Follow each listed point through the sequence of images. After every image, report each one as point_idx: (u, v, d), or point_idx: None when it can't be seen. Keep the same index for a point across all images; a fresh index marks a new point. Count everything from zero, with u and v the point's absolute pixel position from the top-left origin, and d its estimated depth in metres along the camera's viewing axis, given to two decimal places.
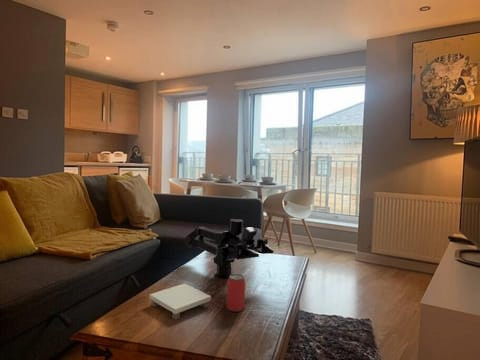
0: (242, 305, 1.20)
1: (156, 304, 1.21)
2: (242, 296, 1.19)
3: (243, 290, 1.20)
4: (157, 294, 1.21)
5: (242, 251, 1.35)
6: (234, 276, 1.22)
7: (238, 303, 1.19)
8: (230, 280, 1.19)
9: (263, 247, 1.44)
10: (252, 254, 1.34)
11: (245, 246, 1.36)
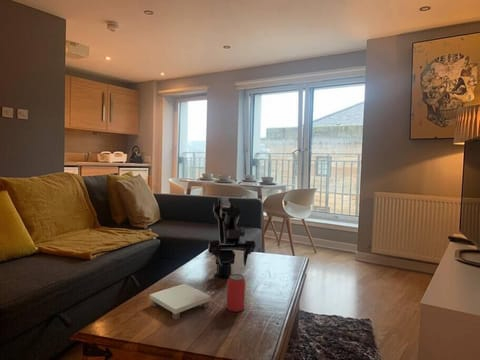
0: (242, 305, 1.20)
1: (156, 304, 1.21)
2: (242, 296, 1.19)
3: (243, 290, 1.20)
4: (157, 294, 1.21)
5: (213, 250, 1.31)
6: (234, 276, 1.22)
7: (238, 303, 1.19)
8: (230, 280, 1.19)
9: (244, 251, 1.34)
10: (219, 260, 1.29)
11: (217, 248, 1.30)
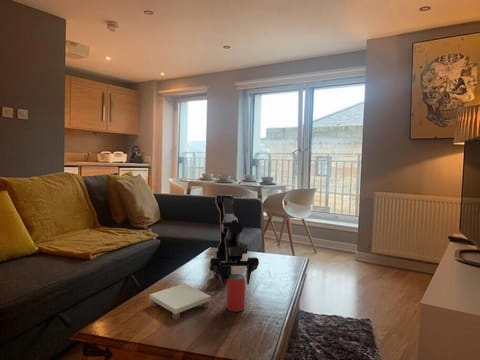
0: (242, 305, 1.20)
1: (156, 304, 1.21)
2: (242, 296, 1.19)
3: (243, 290, 1.20)
4: (157, 294, 1.21)
5: (215, 268, 1.25)
6: (234, 276, 1.22)
7: (238, 303, 1.19)
8: (230, 280, 1.19)
9: (247, 269, 1.27)
10: (220, 278, 1.23)
11: (219, 266, 1.23)
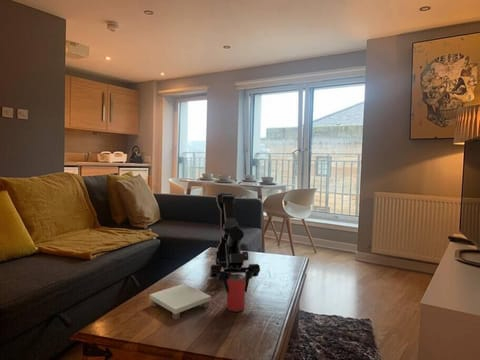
0: (242, 305, 1.20)
1: (156, 304, 1.21)
2: (242, 296, 1.19)
3: (243, 290, 1.20)
4: (157, 294, 1.21)
5: (218, 275, 1.23)
6: (234, 276, 1.22)
7: (238, 303, 1.19)
8: (230, 280, 1.19)
9: (245, 276, 1.25)
10: (224, 286, 1.21)
11: (222, 273, 1.21)
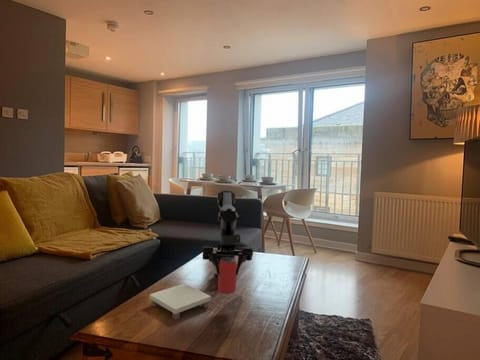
0: (233, 288, 1.18)
1: (156, 304, 1.21)
2: (233, 279, 1.18)
3: (234, 273, 1.18)
4: (157, 294, 1.21)
5: (210, 257, 1.22)
6: (226, 258, 1.21)
7: (229, 285, 1.17)
8: (221, 262, 1.18)
9: None
10: (215, 268, 1.20)
11: (214, 255, 1.21)
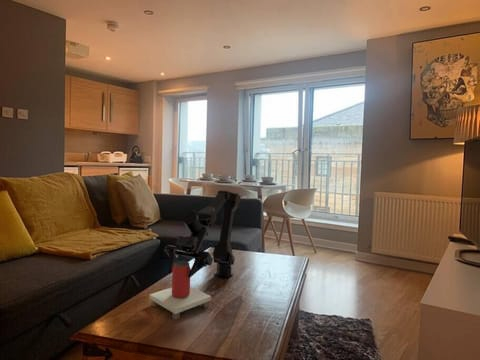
0: (182, 293, 1.18)
1: (156, 304, 1.21)
2: (181, 283, 1.18)
3: (183, 278, 1.18)
4: (157, 294, 1.21)
5: None
6: (182, 263, 1.22)
7: (177, 289, 1.18)
8: None
9: None
10: None
11: (170, 254, 1.24)
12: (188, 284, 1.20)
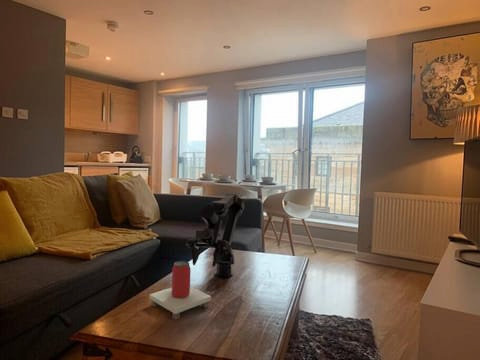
0: (181, 293, 1.18)
1: (156, 304, 1.21)
2: (181, 283, 1.18)
3: (183, 278, 1.18)
4: (157, 294, 1.21)
5: None
6: (182, 263, 1.22)
7: (177, 289, 1.18)
8: None
9: None
10: None
11: (191, 247, 1.34)
12: (188, 284, 1.20)
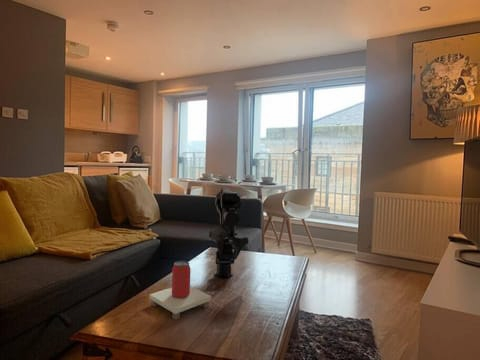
0: (181, 293, 1.19)
1: (156, 304, 1.21)
2: (181, 283, 1.18)
3: (183, 278, 1.18)
4: (157, 294, 1.21)
5: None
6: (182, 263, 1.22)
7: (177, 289, 1.18)
8: None
9: None
10: None
11: (214, 240, 1.43)
12: (188, 284, 1.20)
